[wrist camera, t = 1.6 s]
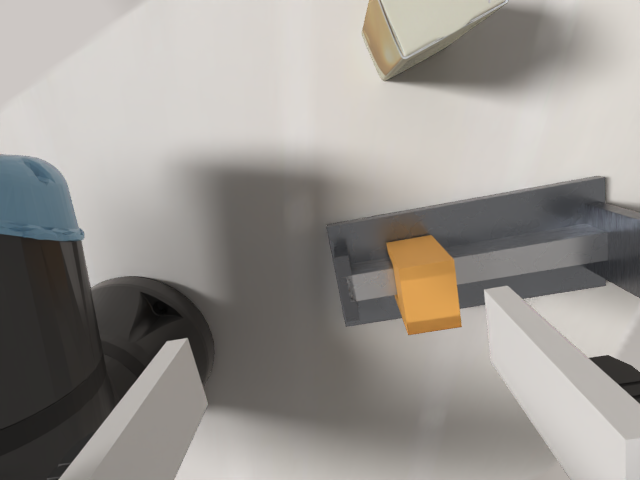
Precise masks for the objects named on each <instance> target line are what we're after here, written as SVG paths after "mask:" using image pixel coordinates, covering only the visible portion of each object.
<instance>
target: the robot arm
mask: <svg viewBox="0 0 640 480" xmlns="http://www.w3.org/2000/svg"><path fill="white" fill-rule="evenodd" d="M83 239H84V231H83V230H81V229H80V228H79V227H78V223H77V219H76V216H75V212H74V208H73V204H72V200H71V196H70V192H69V188H68V185H67V182H66V180H65V178H64V177H63V175H62V174H61V173H60V171H59V170H58V169H56V168H55V167H54V166H53V165H51V164H50V163H48V162H46V161H44V160H41V159H39V158H35V157H30V156H21V155H4V154H0V480H174V479H175V477H176V474H177V472H178V470H179V468H180V466H181V463H182V461H183V459H184V457H185V455H186V452H187V450H188V448H189V446H190V444H191V441H192V439H193V437H194V435H195V432H196V430H197V428H198V426H199V424H200V421H201V419H202V417H203V415H204V413H205V410H206V408H207V406H208V401H207V398H206V395H205V392H204V389H203V387H204V385H205V383H206V381H207V379H208V377H209V375H210V372H211V369H212V366H213V361H214V344H213V339H212V335H211V332H210V329H209V327H208V324H207V322H206V320H205V319H204V317H203V316H202V314H201V313H200V311H199V310H198V309H197V308H196V306H195V305H194V304H193V303H192V302H191V301H190V300H189V299H188V298H186V297H185V296H184V295H183V294H181V293H180V292H178V291H177V290H175V289H173V288H172V287H170V286H168V285H165V284H163V283H161V282H158V281H155V280H151V279H147V278H141V277H119V278H114V279H110V280H106V281H104V282H101V283H99V284H97V285H95V286H94V287H92V288H91V287H90V282H89V277H88V272H87V267H86V262H85V256H84V251H83V246H82V241H81V240H83ZM484 296H485V307H486V317H487V328H488V339H489V349H490V360H491V363H492V365H493V366H494V368H495V369H496V371H497V372H498V374H499V375H500V377H501V378H502V380H503V381H504V382H505V384H506V385H507V387H508V388H509V390H510V391H511V393H512V394H513V396H514V397H515V399H516V400H517V402H518V403H519V405H520V406H521V408H522V409H523V411H524V412H525V413H526V415H527V416H528V418H529V419H530V421H531V422H532V424H533V425H534V427H535V428H536V430H537V431H538V433H539V434H540V436H541V437H542V439H543V440H544V442H545V443H546V444H547V446H548V447H549V449H550V450H551V452H552V453H553V455H554V456H555V458H556V459H557V461H558V462H559V464H560V465H561V466H562V468H563V470H564V471H565V473H566V474H567V475H568V477H569V478H570V480H640V372H639V371H638V370H636V369H635V368H634V367H633V366H631V365H629V364H627V363H624V362H622V361H620V360H618V359H615V358H613V357H611V356H609V355H606V356H599V357H593V358H588V357H587V356H586V355H585V354H583V353H582V352H581V351H580V350H579V349H578V348H577V347H576V346H575V345H573V344H572V343H571V342H570V341H569V340H568V339H567V338H566V337H564V336H563V335H562V334H561V333H560V332H559V331H558V330H557V329H556V328H554V327H553V326H552V325H551V324H550V323H549V322H548V321H547V320H545V319H544V318H543V317H542V316H541V315H540V314H539V313H538V312H537V311H535V310H534V309H533V308H532V307H531V306H530V305H529V304H528V303H526V302H525V301H524V300H523V299H522V298H521V297H520V296H519V295H518V294H516V293H515V292H514V291H513V290H512V289H511V288H510V287H509V286H502V287H496V288H490V289H484Z"/></svg>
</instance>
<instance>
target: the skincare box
mask: <svg viewBox="0 0 640 480" xmlns="http://www.w3.org/2000/svg"><path fill="white" fill-rule="evenodd" d="M508 1H509V0H369V3H368V8H367V12H366V16H365V21H364V26H363V30H362V36H363V39H364V41H365V44H366V46H367V48H368V51H369V53H370V55H371V58H372V60H373V62H374V65H375V67H376V69H377V71H378V73H379V76H380V78H381V79H382V80H383V81H386V80H388V79H390V78H392V77H394V76H396V75H398V74H399V73H401V72H403V71H405V70H407V69H409V68H411V67H413V66H414V65H416V64H418V63H420V62H421V61H423V60H425V59H427V58H428V57H430V56H432V55H434V54H435V53H437V52H439V51H440V50H442V49H444V48H445V47H447V46H449V45H450V44H451V43H453V42H454V41H456V40H457V39H458V38H460V37H461V36H462V35H464V34H465V33H467V32H468V31H469V30H471V29H472V28H473V27H475V26H476V25H477V24H479V23H480V22H482V21H483V20H485V19H486V18H487V17H489V16H490V15H491V14H493V13H494V12H496V11H497V10H498V9H500V8H501V7H502V6H504V5H505V4H506V3H507V2H508Z"/></svg>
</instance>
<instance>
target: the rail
mask: <svg viewBox="0 0 640 480" xmlns="http://www.w3.org/2000/svg"><path fill="white" fill-rule="evenodd" d="M327 231H328V236H329V242H330V247H331V252H332V257H333V262H334V267H335V272H336V278H337V283H338V288H339V293H340V298H341V303H342V309H343V314H344V319H345V324H346V327H347V326H354V325H360V324H366V323H373V322H379V321H385V320H392V319H398V318H402V316H401V313H400V310H399V308H398V305H397V302H396V299H395V295H397V289H396V282H395V276H394V269H393V264H392V261H391V259H390V257H389V254H388V250H387V244H386V243H388V242H393V241H399V240H405V239H411V238H416V237H422V236H428V235H432V236H433V237H434V238H435V239H436V241H437V242H438V243H439V244H440V245H441V246H442V247H443V248H444V249H445V250H446V251H447V253H448V254H449V255H450V256H451V257H452V258H453V259H454V263H455V272H456V281H457V290H458V299H459V308H460V309H461V308H467V307H474V306H480V305H485V296H484V289H490V288H496V287H502V286H509V287H510V288H511V289H512V290H513V291H514V292H515V293H516V294H518V295H519V296H520V297H521V298H522V299H524V298H531V297H537V296H543V295H550V294H556V293H562V292H569V291H575V290H581V289H588V288H594V287H600V286H606V280H608V281H610V282H612V283H613V284H615V285H617V286H619V287H621V288H623V289H624V290H626V291H628V292H630V293H632V294H633V295H635V296H637V297H639V298H640V212H637V211H633V210H630V209H626V208H622V207H618V206H615V205H611V204H607V203H605V177H601V176H594V177H589V178H583V179H577V180H572V181H566V182H561V183H555V184H550V185H544V186H539V187H533V188H528V189H522V190H516V191H511V192H505V193H500V194H494V195H489V196H483V197H478V198H472V199H467V200H461V201H455V202H450V203H444V204H439V205H433V206H428V207H422V208H417V209H411V210H405V211H400V212H394V213H389V214H383V215H378V216H372V217H367V218H361V219H356V220H350V221H344V222H339V223H333V224H328V225H327Z"/></svg>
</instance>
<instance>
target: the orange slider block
mask: <svg viewBox="0 0 640 480" xmlns="http://www.w3.org/2000/svg"><path fill="white" fill-rule="evenodd" d="M386 244H387V250H388V254H389V257H390V259H391V261H392V264H393V269H394V276H395V282H396V289H397V295H395V299H396V302H397V305H398V308H399V310H400V313H401V316H402V319H403V321H404V324H405V327H406V330H407V333H408V335H412V334H419V333H425V332H432V331H438V330H445V329H451V328H457V327H462V326H461V317H460V308H459V299H458V290H457V281H456V272H455V263H454V259H453V258H452V257H451V256H450V255H449V254H448V253H447V251H446V250H445V249H444V248H443V247H442V246H441V245H440V244H439V243H438V242H437V241H436V239H435V238H434V237H433V236H432V235H428V236H422V237H416V238H411V239H405V240H399V241H393V242H388V243H386Z"/></svg>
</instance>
